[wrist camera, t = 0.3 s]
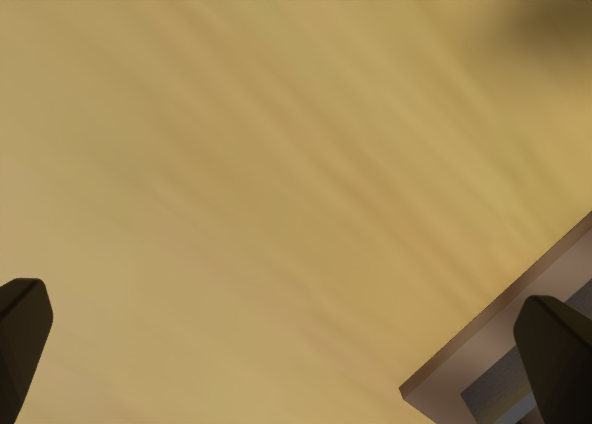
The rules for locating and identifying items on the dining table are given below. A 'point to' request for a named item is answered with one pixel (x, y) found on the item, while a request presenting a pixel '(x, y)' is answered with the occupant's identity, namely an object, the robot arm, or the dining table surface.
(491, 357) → the socket board
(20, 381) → the robot arm
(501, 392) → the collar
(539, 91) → the dining table surface
